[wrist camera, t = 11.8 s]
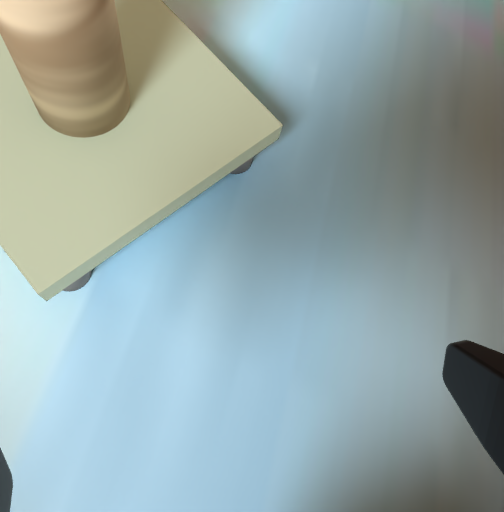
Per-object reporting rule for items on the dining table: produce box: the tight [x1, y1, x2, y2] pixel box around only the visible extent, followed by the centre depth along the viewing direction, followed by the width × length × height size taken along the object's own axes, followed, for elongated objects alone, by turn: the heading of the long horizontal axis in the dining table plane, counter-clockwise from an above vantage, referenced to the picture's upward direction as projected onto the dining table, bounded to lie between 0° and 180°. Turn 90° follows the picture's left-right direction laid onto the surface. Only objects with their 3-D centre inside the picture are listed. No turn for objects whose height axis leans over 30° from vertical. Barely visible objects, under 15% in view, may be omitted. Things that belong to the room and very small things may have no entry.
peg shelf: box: [0, 0, 283, 301], centre depth 23 cm, size 14×14×4 cm
